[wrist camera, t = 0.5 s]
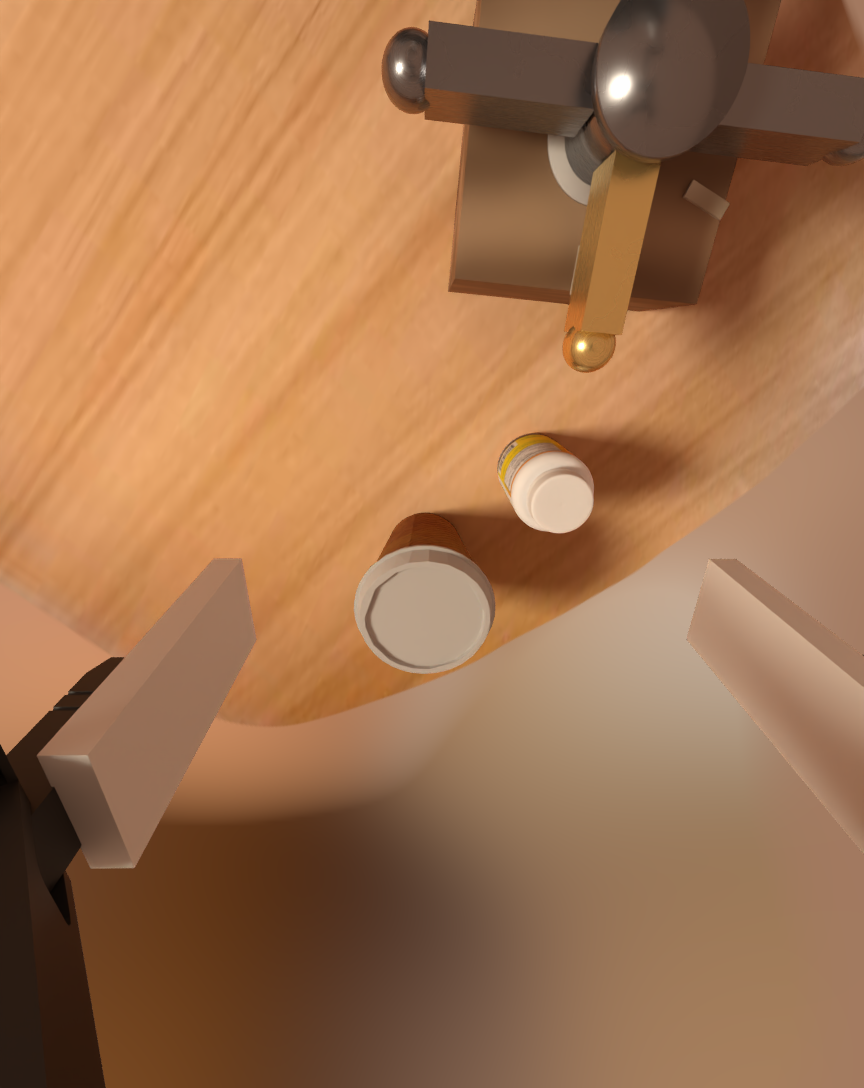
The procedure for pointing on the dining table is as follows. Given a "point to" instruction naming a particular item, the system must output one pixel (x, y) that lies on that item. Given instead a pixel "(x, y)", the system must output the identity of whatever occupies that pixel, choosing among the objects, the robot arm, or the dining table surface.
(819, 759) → the robot arm
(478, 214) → the stand
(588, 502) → the supplement bottle
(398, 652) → the disposable coffee cup
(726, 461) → the dining table surface
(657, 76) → the capstan
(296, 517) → the dining table surface
